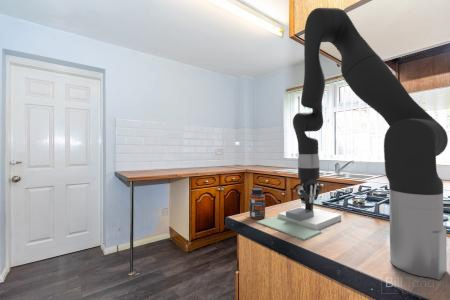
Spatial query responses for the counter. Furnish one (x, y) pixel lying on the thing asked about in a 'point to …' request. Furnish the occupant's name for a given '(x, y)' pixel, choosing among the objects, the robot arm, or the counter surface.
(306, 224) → the riser
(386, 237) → the counter surface
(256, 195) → the supplement bottle
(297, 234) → the mat
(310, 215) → the grey flat block
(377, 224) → the counter surface
